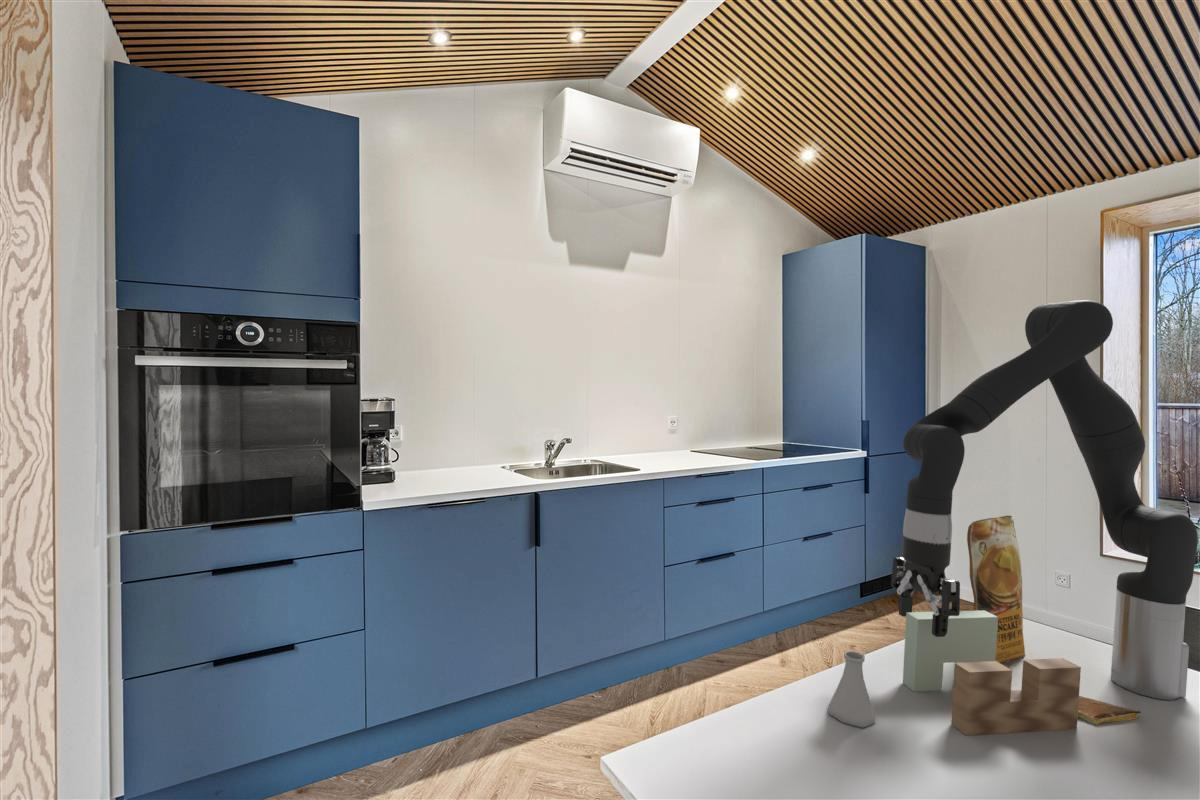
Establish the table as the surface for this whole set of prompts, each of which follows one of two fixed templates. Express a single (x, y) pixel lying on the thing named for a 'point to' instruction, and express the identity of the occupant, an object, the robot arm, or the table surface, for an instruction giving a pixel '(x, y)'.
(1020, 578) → the pancake mix bag
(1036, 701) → the walnut board
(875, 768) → the table surface
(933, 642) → the sage board
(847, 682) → the flask
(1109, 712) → the shard
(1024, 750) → the table surface
